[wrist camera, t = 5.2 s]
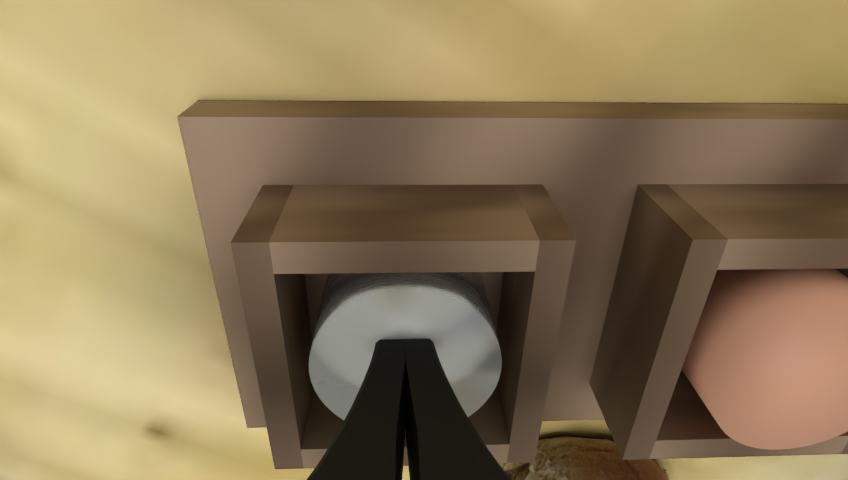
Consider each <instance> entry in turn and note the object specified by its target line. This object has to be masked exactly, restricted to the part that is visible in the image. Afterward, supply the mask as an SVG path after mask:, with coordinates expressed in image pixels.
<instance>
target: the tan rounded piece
mask: <svg viewBox="0 0 848 480" xmlns="http://www.w3.org/2000/svg"><path fill="white" fill-rule="evenodd" d="M682 371H683V372H684V374H685V375H686V377H687V378H688V380H689V381H690V383H691V384H692V386H693V387H694V389H695V390H696V392H697V393H698V395H699V396H700V398H701V399H702V401H703V402H704V404H705V405H706V407H707V408H708V410H709V411H710V413H711V414H712V416H713V417H714V419H715V420H716V422H717V423H718V425H719V426H720V428H721V429H722V430H723V432H724V433H725V434H726V435H728V436H729V437H730V438H731V439H733V440H735V441H737V442H738V443H741V444H743V445H746V446H750V447H754V448H759V449H769V450H781V449H792V448H799V447H804V446H809V445H813V444H816V443H820V442H823V441H826V440H829V439H831V438H834V437H837V436H839V435H841V434H843V433H846V432H848V278H847V277H846V276H845V275H843V274H842V273H841V272H839V271H838V270H836V269H738V270H717V272H716V275H715V277H714V280H713V283H712V286H711V289H710V291H709V294H708V297H707V300H706V302H705V305H704V308H703V311H702V314H701V316H700V319H699V322H698V325H697V328H696V330H695V333H694V336H693V339H692V341H691V344H690V347H689V350H688V353H687V355H686V358H685V361H684V364H683V366H682Z"/></svg>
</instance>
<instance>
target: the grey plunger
mask: <svg viewBox="0 0 848 480" xmlns="http://www.w3.org/2000/svg"><path fill="white" fill-rule="evenodd" d="M380 339H431V340H432V341H433V342H434V345H435V349H436V352H437V355H438V358H439V360H440V363H441V365H442V368H443V370H444V372H445V375H446V377H447V379H448V381H449V383H450V385H451V387H452V389H453V391H454V393H455V395H456V397H457V399H458V401H459V403H460V405H461V406H462V408H463V410H464V412H465V413H466V415H467V417H469V416H470V415H472V414H473V413H474V412H476V411H477V410H478V409H479V408H480V407H481V406H482V405H483V404H484V403H485V402H486V401H487V400H488V398H489V397H490V396H491V394H492V393H493V391H494V389H495V388H496V386H497V383H498V380H499V378H500V373H501V368H502V357H501V350H500V346H499V342H498V338H497V334H496V330H495V326H494V322H493V318H492V314H491V310H490V306H489V302H488V298H487V294H486V290H485V286H484V282H483V279H482V276H481V273H480V272H425V273H328V275H327V279H326V282H325V286H324V291H323V295H322V300H321V304H320V309H319V314H318V318H317V323H316V328H315V332H314V337H313V341H312V346H311V351H310V356H309V374H310V379H311V383H312V385H313V388H314V390H315V392H316V393H317V395H318V397H319V398H320V400H321V401H322V402H323V403H324V404H325V406H326V407H327V408H328V409H330V410H331V411H332V412H333V413H334V414H335V415H337V416H338V417H340V418H341V419H343V420H345V418H346V416H347V414H348V412H349V410H350V408H351V406H352V404H353V402H354V400H355V398H356V396H357V394H358V391H359V389H360V387H361V385H362V383H363V380H364V378H365V375H366V373H367V370H368V368H369V365H370V362H371V359H372V356H373V352H374V348H375V343H376V342H377V341H379V340H380Z"/></svg>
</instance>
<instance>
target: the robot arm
mask: <svg viewBox="0 0 848 480" xmlns="http://www.w3.org/2000/svg"><path fill="white" fill-rule="evenodd" d="M405 437H406V446H407V455H408V465H409V474H410V480H511V479H510V478H509V476H508V475H507V474H506V473H505V471H504V470H503V469H502V467H501V466H500V465H499V463H498V462H497V461H496V459H495V458H494V457H493V455H492V454H491V452H490V451H489V450H488V448H487V447H486V445H485V444H484V442H483V441H482V439H481V438H480V436H479V435H478V433H477V432H476V430H475V428H474V427H473V425H472V423H471V422H470V420H469V418H468V417H467V415H466V413H465V412H464V410H463V408H462V406H461V405H460V403H459V401H458V399H457V397H456V395H455V393H454V391H453V389H452V387H451V385H450V383H449V381H448V379H447V377H446V375H445V372H444V370H443V368H442V365H441V363H440V360H439V358H438V355H437V352H436V349H435V345H434V342H433V341H432V340H431V339H380V340H379V341H377V342H376V343H375V348H374V352H373V356H372V359H371V362H370V365H369V368H368V370H367V373H366V375H365V378H364V380H363V383H362V385H361V387H360V389H359V391H358V394H357V396H356V398H355V400H354V402H353V404H352V406H351V408H350V410H349V412H348V414H347V416H346V418H345V420H344V421H343V423H342V425H341V427H340V429H339V431H338V433H337V434H336V436H335V438H334V439H333V441H332V443H331V444H330V446H329V448H328V449H327V451H326V452H325V454H324V455H323V457H322V459H321V460H320V462H319V463H318V465H317V466H316V468H315V469H314V470H313V472H312V473H311V475H310V476H309V477H308V479H307V480H402V471H403V459H404V447H405Z"/></svg>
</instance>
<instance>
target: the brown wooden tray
mask: <svg viewBox="0 0 848 480" xmlns="http://www.w3.org/2000/svg"><path fill="white" fill-rule="evenodd" d="M177 118H178V122H179V126H180V131H181V135H182V140H183V144H184V149H185V153H186V158H187V162H188V166H189V171H190V175H191V180H192V184H193V189H194V193H195V198H196V202H197V206H198V211H199V215H200V220H201V224H202V229H203V233H204V238H205V242H206V246H207V251H208V255H209V260H210V264H211V269H212V273H213V278H214V282H215V286H216V291H217V295H218V300H219V304H220V309H221V313H222V317H223V322H224V326H225V331H226V335H227V340H228V344H229V349H230V353H231V357H232V362H233V366H234V371H235V375H236V380H237V384H238V389H239V393H240V397H241V402H242V406H243V411H244V415H245V420H246V424H247V428H256V427H267V431H268V436H269V441H270V446H271V451H272V456H273V461H274V466H275V469H296V468H316V466H317V465H318V463H319V462H320V460H321V459H322V457H323V455H324V454H325V452H326V451H327V449H328V448H329V446H330V444H331V443H332V441H333V439H334V438H335V436H336V434H337V433H338V431H339V429H340V427H341V425H342V423H343V421H344V420H343V419H341V418H340V417H338V416H337V415H335V414H334V413H333V412H332V411H331V410H330V409H328V408H327V407H326V406H325V404H324V403H323V402H322V401H321V400H320V398H319V397H318V395H317V393H316V392H315V390H314V388H313V385H312V383H311V379H310V374H309V356H310V351H311V346H312V341H313V337H314V332H315V328H316V323H317V318H318V314H319V309H320V304H321V300H322V295H323V291H324V286H325V282H326V279H327V275H328V273H425V272H480V273H481V276H482V279H483V282H484V286H485V290H486V294H487V298H488V302H489V306H490V310H491V314H492V318H493V322H494V326H495V330H496V334H497V338H498V342H499V346H500V350H501V357H502V368H501V373H500V378H499V380H498V383H497V386H496V388H495V389H494V391H493V393H492V394H491V396H490V397H489V398H488V400H487V401H486V402H485V403H484V404H483V405H482V406H481V407H480V408H479V409H478V410H477V411H476V412H474V413H473V414H472V415H470V416H469V417H468V418H469V420H470V422H471V423H472V425H473V427H474V428H475V430H476V432H477V433H478V435H479V436H480V438H481V439H482V441H483V442H484V444H485V445H486V447H487V448H488V450H489V451H490V452H491V454H492V455H493V457H494V458H495V459H496V461H497V462H498V463H520V462H534V460H535V455H536V450H537V444H538V439H539V434H540V429H541V423H542V421H560V420H603V419H605V421H606V423H607V426H608V428H609V430H610V432H611V435H612V437H613V439H614V442H615V444H616V446H617V449H618V451H619V453H620V455H621V458H622V460H632V459H670V458H707V457H745V456H782V455H820V454H848V432H846V433H843V434H841V435H839V436H837V437H834V438H831V439H829V440H826V441H823V442H820V443H816V444H813V445H809V446H804V447H799V448H792V449H781V450H769V449H759V448H754V447H750V446H746V445H743V444H741V443H738V442H737V441H735V440H733V439H731V438H730V437H729V436H728V435H726V434H725V433H724V432H723V430H722V429H721V428H720V426H719V425H718V423H717V422H716V420H715V419H714V417H713V416H712V414H711V413H710V411H709V410H708V408H707V407H706V405H705V404H704V402H703V401H702V399H701V398H700V396H699V395H698V393H697V392H696V390H695V389H694V387H693V386H692V384H691V383H690V381H689V380H688V378H687V377H686V375H685V374H684V372H683V371H682V366H683V364H684V361H685V358H686V355H687V353H688V350H689V347H690V344H691V341H692V339H693V336H694V333H695V330H696V328H697V325H698V322H699V319H700V316H701V314H702V311H703V308H704V305H705V302H706V300H707V297H708V294H709V291H710V289H711V286H712V283H713V280H714V277H715V275H716V272H717V270H738V269H836V270H838V271H839V272H841V273H842V274H843V275H845V276H846V277H847V278H848V104H740V103H562V102H384V101H206V100H198V101H197V102H196V103H194V104H193V105H192V106H190V107H189V108H188V109H187V110H185V111H184V112H183V113H181V114H180V115H179V116H178V117H177ZM403 466H408V455H407V446H406V437H405V447H404V459H403Z"/></svg>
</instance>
